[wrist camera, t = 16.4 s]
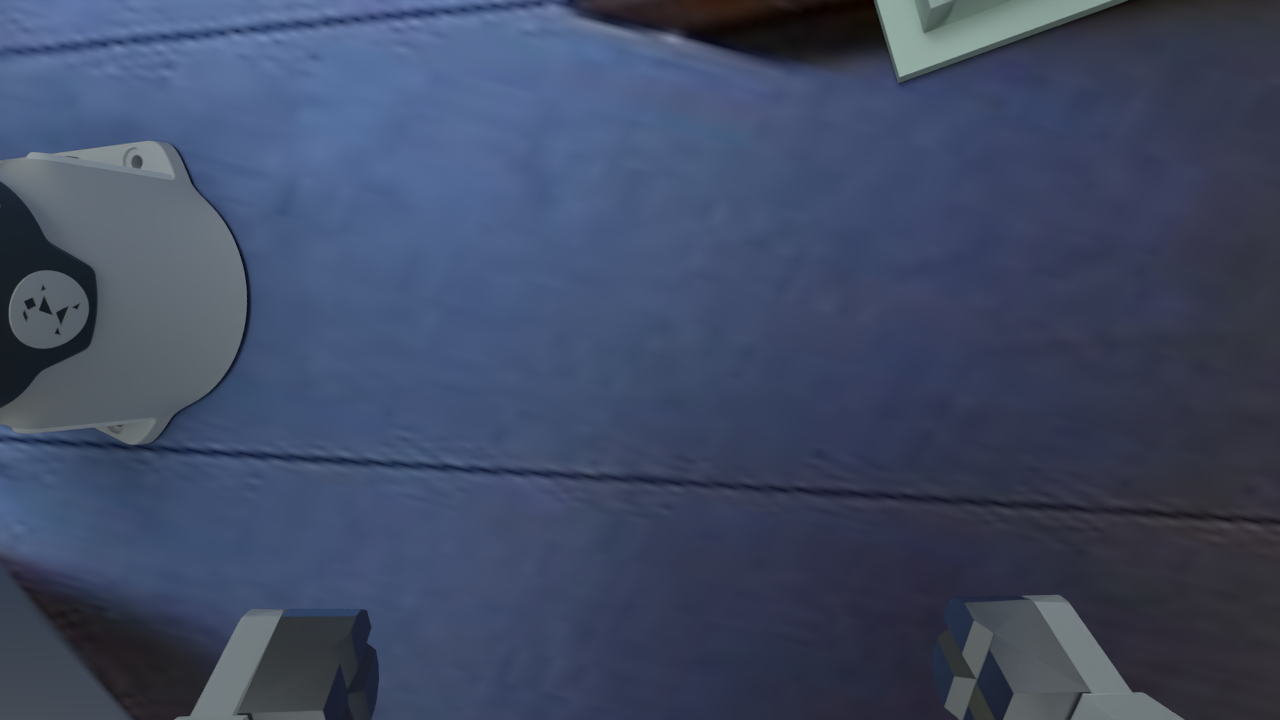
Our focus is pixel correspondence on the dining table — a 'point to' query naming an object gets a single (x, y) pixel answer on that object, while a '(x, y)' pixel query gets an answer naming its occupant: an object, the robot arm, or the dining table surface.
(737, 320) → the dining table surface
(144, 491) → the dining table surface
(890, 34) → the holder
